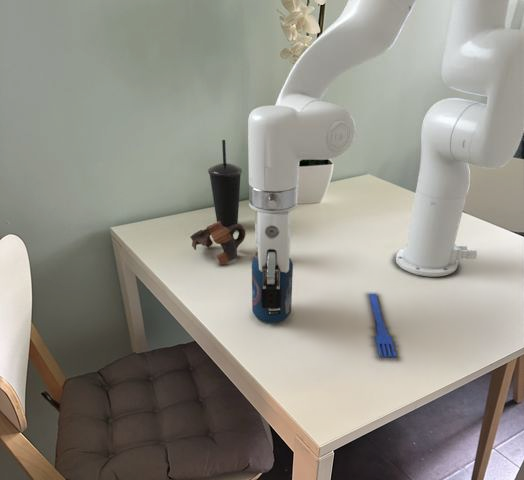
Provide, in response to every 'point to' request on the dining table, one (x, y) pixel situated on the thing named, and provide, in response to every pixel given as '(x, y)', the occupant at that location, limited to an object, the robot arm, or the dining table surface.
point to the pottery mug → (220, 239)
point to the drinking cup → (225, 190)
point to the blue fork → (381, 330)
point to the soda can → (286, 295)
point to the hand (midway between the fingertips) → (271, 295)
